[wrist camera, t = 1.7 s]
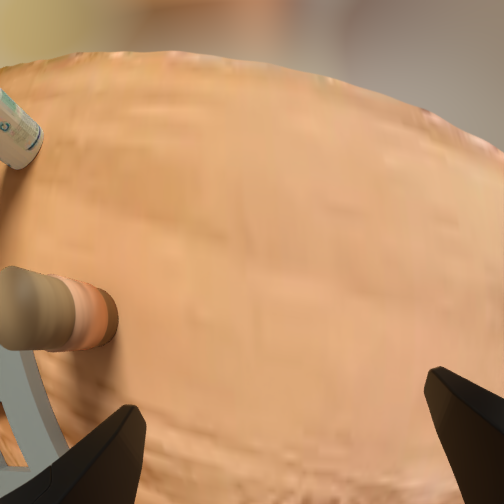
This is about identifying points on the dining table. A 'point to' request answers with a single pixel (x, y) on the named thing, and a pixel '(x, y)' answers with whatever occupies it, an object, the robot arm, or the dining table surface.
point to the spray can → (17, 134)
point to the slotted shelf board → (27, 419)
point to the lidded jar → (53, 312)
